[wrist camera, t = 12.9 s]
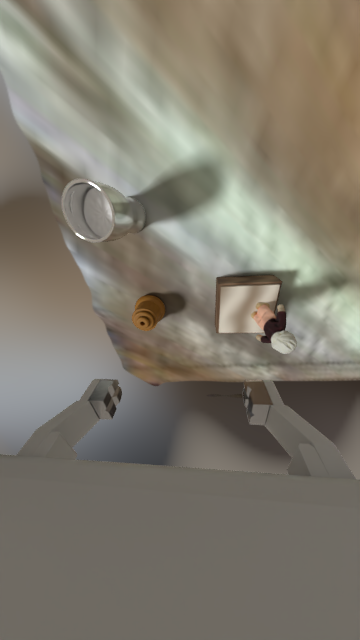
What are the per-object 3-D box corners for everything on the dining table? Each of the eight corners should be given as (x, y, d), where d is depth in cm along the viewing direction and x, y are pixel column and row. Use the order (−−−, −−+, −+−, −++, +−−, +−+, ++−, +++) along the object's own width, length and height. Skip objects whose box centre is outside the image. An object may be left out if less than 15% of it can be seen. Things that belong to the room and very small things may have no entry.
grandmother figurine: (264, 325, 37) (291, 369, 26) (246, 323, 37) (265, 366, 26) (277, 293, 33) (315, 328, 22) (257, 290, 33) (286, 324, 22)
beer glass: (155, 212, 33) (126, 207, 20) (136, 243, 36) (101, 255, 23) (124, 184, 31) (71, 158, 18) (107, 219, 34) (52, 218, 21)
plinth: (273, 274, 36) (283, 282, 32) (263, 322, 42) (271, 334, 38) (216, 277, 38) (218, 284, 34) (214, 323, 44) (216, 334, 40)
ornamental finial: (168, 318, 45) (141, 321, 46) (162, 291, 41) (133, 295, 42) (162, 336, 38) (131, 338, 39) (155, 306, 34) (120, 309, 35)
